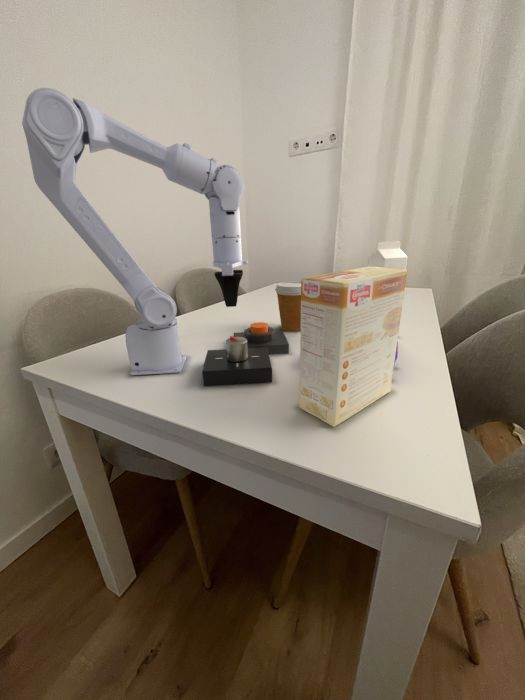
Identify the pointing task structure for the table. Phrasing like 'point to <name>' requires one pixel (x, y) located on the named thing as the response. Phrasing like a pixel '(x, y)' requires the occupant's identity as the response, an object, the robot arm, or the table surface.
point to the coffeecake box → (348, 339)
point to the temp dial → (236, 349)
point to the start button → (259, 328)
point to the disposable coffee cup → (289, 305)
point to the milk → (388, 256)
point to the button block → (266, 340)
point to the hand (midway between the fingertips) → (231, 305)
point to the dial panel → (237, 368)
